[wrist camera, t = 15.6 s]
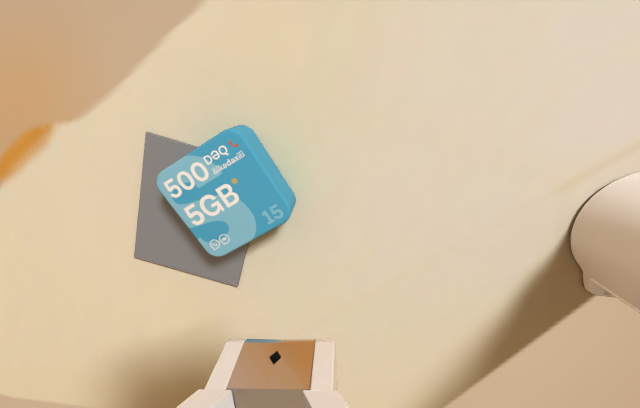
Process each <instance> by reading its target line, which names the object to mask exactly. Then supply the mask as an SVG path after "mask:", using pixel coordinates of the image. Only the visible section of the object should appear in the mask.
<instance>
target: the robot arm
mask: <svg viewBox="0 0 640 408" xmlns="http://www.w3.org/2000/svg"><path fill="white" fill-rule="evenodd" d="M571 249H572V253H573V256H574V258H575V260H576V261H577V263H578V264H579V266H580V267H581V269H582V271H583V283H584V287H585V289H586V290H587V291H589V292H591V293H592V294H594V295H599V296H608V297H617V298H618V299H620V300H622V301H623V302H624V303H626V304H627V305H629V306H631V307H632V308H634V309H635V310H636V311H638V312H639V313H640V172H639V173H635V174H631V175H628V176H625V177H623V178H620V179H618V180H616V181H614V182H612V183H610V184H609V185H607V186H606V187H604V188H603V189H601V190H600V191H599V192H597V193H596V194H595V195H594V196H593V197H592V198H591V199H590V200H589V201H588V202H587V203H586V204H585V205H584V207H583V208H582V210H581V211H580V212H579V214H578V216H577V218H576V220H575V222H574V225H573V228H572V232H571ZM176 408H350V407H349V406H348V404H347V403H346V401H345V400H344V398H343V397H342V395H341V394H340V392H339V391H338V389H337V365H336V349H335V340H334V339H298V340H266V339H247V340H244V339H229V340H228V341H227V342H226V343H225V345H224V348H223V350H222V352H221V354H220V356H219V358H218V360H217V363H216V365H215V367H214V369H213V371H212V373H211V375H210V378H209V380H208V382H207V384H206V386H205V388H204V389H198V390H197V391H196V392H195V393H193V394H192V395H191V396H190V397H188V398H187V399H186V400H185V401H184V402H182V403H181V404H180V405H179V406H177V407H176Z"/></svg>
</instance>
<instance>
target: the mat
mask: <svg viewBox="0 0 640 408" xmlns="http://www.w3.org/2000/svg"><path fill="white" fill-rule="evenodd" d="M196 148H198V147H196V146H193V145H190V144H186V143H183V142H180V141H176V140H173V139H170V138H166V137H163V136H160V135H156V134H153V133H150V132H146V137H145V148H144V159H143V169H142V180H141V190H140V201H139V211H138V222H137V232H136V243H135V253H134V257H135V258H138V259H142V260H145V261H149V262H152V263H156V264H159V265H163V266H166V267H170V268H173V269H177V270H180V271H184V272H187V273H190V274H194V275H197V276H201V277H204V278H208V279H211V280H215V281H218V282H222V283H225V284H229V285H232V286H236V287H238V284H239V280H240V276H241V272H242V267H243V263H244V259H245V255H246V250H247V246H248V243H246V244H244V245H242V246H241V247H239V248H237V249H235V250H233V251H231V252H230V253H228V254H226V255H224V256H220V257H217V256H213V255H211V254H209V253H208V252H207V251H206V250H205V249H204V248H203V246H202V245H201V244H200V242H199V241H198V240H197V238H196V237H195V236H194V235H193V233H192V232H191V231H190V229H189V228H188V227H187V225H186V224H185V223H184V222H183V220H182V219H181V218H180V216H179V215H178V214H177V213H176V211H175V210H174V209H173V207H172V206H171V205H170V203H169V202H168V201H167V200H166V198H165V197H164V196H163V194H162V193H161V192H160V190H159V189H158V187H157V176H158V175H159V173H160V172H161V171H163V170H164V169H166V168H167V167H169V166H170V165H172V164H174V163H175V162H177V161H178V160H180V159H181V158H183V157H184V156H186V155H187V154H189V153H190V152H192V151H193V150H195V149H196Z"/></svg>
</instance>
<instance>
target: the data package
mask: <svg viewBox="0 0 640 408" xmlns="http://www.w3.org/2000/svg"><path fill="white" fill-rule="evenodd" d="M157 187H158V189H159V190H160V192H161V193H162V194H163V196H164V197H165V198H166V200H167V201H168V202H169V203H170V205H171V206H172V207H173V209H174V210H175V211H176V213H177V214H178V215H179V216H180V218H181V219H182V220H183V222H184V223H185V224H186V225H187V227H188V228H189V229H190V231H191V232H192V233H193V235H194V236H195V237H196V238H197V240H198V241H199V242H200V244H201V245H202V246H203V248H204V249H205V250H206V251H207V252H208V253H209V254H211V255H213V256H217V257H220V256H224V255H226V254H228V253H230V252H231V251H233V250H235V249H237V248H239V247H241V246H242V245H244V244H246V243H248V242H250V241H252V240H253V239H255V238H257V237H259V236H261V235H263V234H265V233H266V232H268V231H270V230H272V229H274V228H276V227H277V226H279V225H281V224H283V223H285V222H286V221H287V220H288V219H289V217H290V215H291V212H292V210H293V208H294V205H295V202H296V199H295V195H294V193H293V192H292V190H291V188H290V187H289V185H288V184H287V182H286V181H285V179H284V178H283V176H282V175H281V173H280V171H279V170H278V168H277V167H276V165H275V164H274V162H273V161H272V159H271V157H270V156H269V154H268V153H267V151H266V150H265V148H264V147H263V145H262V143H261V142H260V140H259V139H258V137H257V136H256V134H255V133H254V131H253V130H252V129H251V128H249V127H247V126H244V125H239V126H236V127H233V128H230V129H227V130H224V131H222V132H221V133H219V134H218V135H216V136H215V137H213V138H212V139H210V140H209V141H207V142H206V143H204V144H202V145H201V146H199V147H198V148H196V149H195V150H193V151H192V152H190V153H189V154H187V155H186V156H184V157H183V158H181V159H180V160H178V161H177V162H175V163H174V164H172V165H170V166H169V167H167V168H166V169H164V170H163V171H161V172H160V173H159V175H158V176H157Z"/></svg>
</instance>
